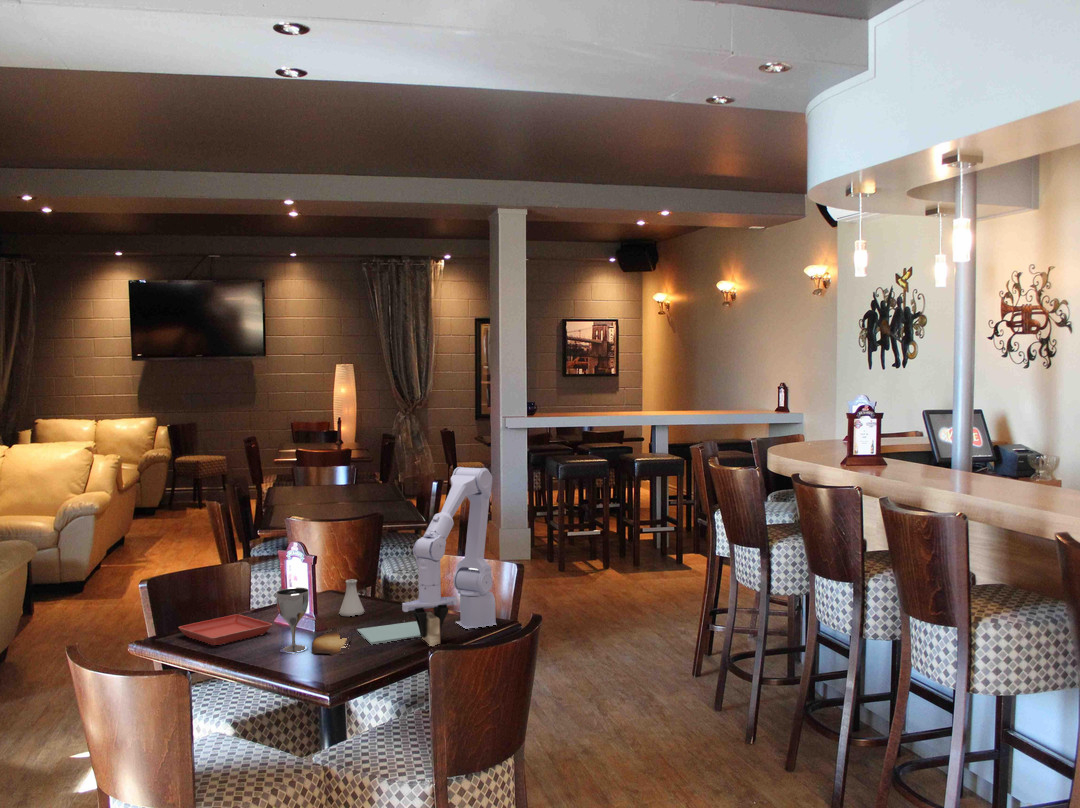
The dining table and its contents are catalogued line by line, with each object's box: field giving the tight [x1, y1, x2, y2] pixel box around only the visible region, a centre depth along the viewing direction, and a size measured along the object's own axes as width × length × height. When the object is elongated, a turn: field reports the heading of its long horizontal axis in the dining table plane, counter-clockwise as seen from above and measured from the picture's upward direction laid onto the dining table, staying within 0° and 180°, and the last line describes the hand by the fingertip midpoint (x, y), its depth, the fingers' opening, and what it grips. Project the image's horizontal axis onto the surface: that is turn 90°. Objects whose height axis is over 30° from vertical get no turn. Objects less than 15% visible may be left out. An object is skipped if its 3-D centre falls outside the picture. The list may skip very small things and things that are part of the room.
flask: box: [338, 579, 366, 617], centre depth 262 cm, size 7×7×10 cm
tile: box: [421, 611, 441, 647], centre depth 231 cm, size 3×7×7 cm, turn 26°
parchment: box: [311, 627, 356, 656], centre depth 233 cm, size 25×10×1 cm, turn 5°
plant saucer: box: [178, 614, 273, 646], centre depth 240 cm, size 18×18×3 cm
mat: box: [356, 621, 421, 646], centre depth 240 cm, size 17×14×1 cm
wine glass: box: [275, 587, 310, 652], centre depth 227 cm, size 8×8×15 cm
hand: (430, 635), depth 231 cm, fingers open, 3 cm apart
